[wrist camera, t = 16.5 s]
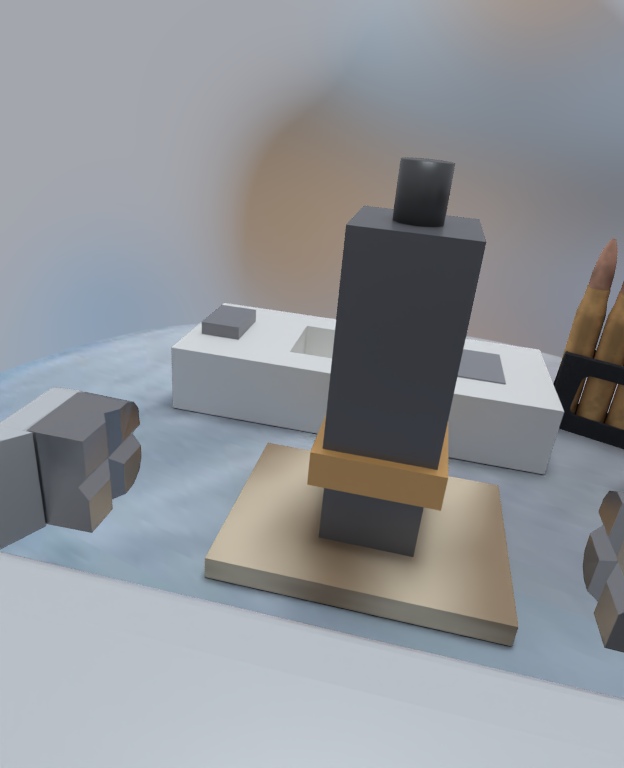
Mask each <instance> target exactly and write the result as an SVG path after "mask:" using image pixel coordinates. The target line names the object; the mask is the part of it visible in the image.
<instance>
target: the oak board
mask: <svg viewBox="0 0 624 768" xmlns="http://www.w3.org/2000/svg"><path fill="white" fill-rule="evenodd" d="M310 452H311V451H309V450H304V449H298V448H293V447H288V446H282V445H277V444H271V443H268V444H267V445H266V447H265V449H264V451H263V453H262V455H261V456H260V458H259V460H258V462H257V464H256V466H255V467H254V469H253V471H252V473H251V475H250V477H249V478H248V480H247V482H246V484H245V486H244V488H243V489H242V491H241V493H240V495H239V497H238V499H237V500H236V502H235V504H234V506H233V508H232V510H231V511H230V513H229V515H228V517H227V519H226V521H225V522H224V524H223V526H222V528H221V530H220V532H219V533H218V535H217V537H216V539H215V541H214V543H213V544H212V546H211V548H210V550H209V552H208V554H207V555H206V557H205V577H207V578H212V579H216V580H221V581H225V582H229V583H234V584H238V585H243V586H247V587H252V588H256V589H260V590H265V591H269V592H274V593H278V594H283V595H287V596H291V597H296V598H300V599H305V600H309V601H314V602H318V603H322V604H327V605H331V606H336V607H340V608H345V609H349V610H353V611H358V612H362V613H367V614H371V615H376V616H380V617H384V618H389V619H393V620H398V621H402V622H406V623H411V624H415V625H420V626H424V627H429V628H433V629H437V630H442V631H446V632H451V633H455V634H460V635H464V636H468V637H473V638H477V639H482V640H486V641H491V642H495V643H499V644H504V645H508V646H512V645H513V642H514V639H515V636H516V633H517V630H518V621H517V614H516V607H515V600H514V593H513V586H512V579H511V572H510V565H509V557H508V550H507V543H506V536H505V529H504V522H503V515H502V508H501V501H500V494H499V487H498V485H493V484H487V483H482V482H477V481H471V480H466V479H460V478H455V477H450V476H448V482H447V486H446V491H445V495H444V500H443V504H442V509H441V511H439V510H434V509H429V508H423V513H422V518H421V523H420V528H419V532H418V537H417V542H416V547H415V552H414V556H413V557H410V556H405V555H400V554H395V553H391V552H386V551H381V550H376V549H372V548H367V547H362V546H357V545H353V544H348V543H343V542H338V541H333V540H329V539H324V538H319V529H320V520H321V511H322V502H323V493H324V488H322V487H317V486H312V485H307V481H308V470H309V460H310Z"/></svg>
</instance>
